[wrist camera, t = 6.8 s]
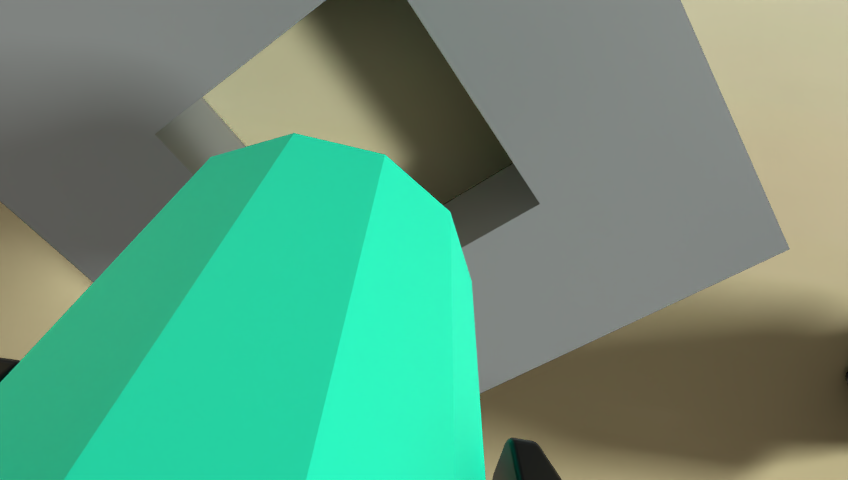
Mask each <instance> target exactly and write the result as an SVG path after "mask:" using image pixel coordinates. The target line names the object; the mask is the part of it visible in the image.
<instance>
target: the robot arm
mask: <svg viewBox="0 0 848 480" xmlns="http://www.w3.org/2000/svg"><path fill="white" fill-rule="evenodd" d="M19 362H20V361H19V360H13V359H6V358H0V382H1V381H2V380H3V379H4V378H5V377H6V376H7V375H8V374H9V373H10V372H11V370H12V369H13V368H14V367H15V366H16V365H17V364H18V363H19ZM845 378H846V381H847V384H848V372H847V373H846V376H845ZM493 480H561V478H560V476H559V475H558V473H557V472H556V470H555V469H554V467H553V466H552V464H551V463H550V461H549V460H548V458H547V457H546V455H545V454H544V452H543V451H542V449H541V448H540V446H539V445H538V444H537V443H536V442H534V441H530V440H523V439H517V438H510V439H508V440H507V442H506V443H505V445H504V448H503V451H502V453H501V456H500V459H499V461H498V464H497V467H496V469H495V472H494V475H493Z"/></svg>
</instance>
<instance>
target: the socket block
mask: <svg viewBox="0 0 848 480" xmlns="http://www.w3.org/2000/svg"><path fill="white" fill-rule="evenodd" d="M324 1H326V0H0V202H2V203H3V204H4V205H5V206H6V207H7V208H9V209H10V210H11V211H12V212H13V213H14V214H15V215H17V216H18V217H19V218H20V219H21V220H22V221H23V222H25V223H26V224H27V225H28V226H29V227H30V228H32V229H33V230H34V231H35V232H36V233H37V234H38V235H40V236H41V237H42V238H43V239H44V240H45V241H46V242H48V243H49V244H50V245H51V246H52V247H53V248H54V249H56V250H57V251H58V252H59V253H60V254H61V255H63V256H64V257H65V258H66V259H67V260H68V261H69V262H71V263H72V264H73V265H74V266H75V267H76V268H77V269H79V270H80V271H81V272H82V273H83V274H84V275H86V276H87V277H88V278H89V279H90V280H91V281H92V282H95V280H96V279H97V278H98V277H99V276H100V275H101V274H102V273H103V272H104V271H105V270H106V269H107V268H108V267H109V265H110V264H111V263H112V262H113V261H114V260H115V259H116V258H117V257H118V256H119V255H120V254H121V253H122V252H123V250H124V249H125V248H126V247H127V246H128V245H129V244H130V243H131V242H132V241H133V240H134V239H135V238H136V236H137V235H138V234H139V233H140V232H141V231H142V230H143V229H144V228H145V227H146V226H147V225H148V224H149V223H150V221H151V220H152V219H153V218H154V217H155V216H156V215H157V214H158V213H159V212H160V211H161V210H162V209H163V208H164V206H165V205H166V204H167V203H168V202H169V201H170V200H171V199H172V198H173V197H174V196H175V195H176V194H177V193H178V191H179V190H180V189H181V188H182V187H183V186H184V185H185V184H186V183H187V182H188V181H189V180H190V179H191V178H192V176H193V175H194V174H195V173H196V172H197V171H198V170H199V169H200V168H201V167H202V166H203V165H204V164H205V163H206V161H207V160H208V159H209V158H210V157H212V156H216V155H219V154H223V153H226V152H230V151H233V150H237V149H240V148H244V147H246V146H245V145H244V144H243V143H242V142H241V141H240V140H239V138H238V137H237V136H236V135H235V134H234V133H233V132H232V131H231V129H230V128H229V127H228V126H227V125H226V124H225V123H224V121H223V120H222V119H221V118H220V117H219V116H218V115H217V113H216V112H215V111H214V110H213V109H212V108H211V107H210V105H209V104H208V103H207V102H206V101H205V100H204V99H203V96H204V95H205V94H207V93H208V92H209V91H210V90H212V89H213V88H214V87H216V86H217V85H218V84H219V83H221V82H222V81H223V80H225V79H226V78H227V77H228V76H230V75H231V74H232V73H234V72H235V71H236V70H237V69H239V68H240V67H241V66H242V65H244V64H245V63H246V62H248V61H249V60H250V59H251V58H253V57H254V56H255V55H257V54H258V53H259V52H260V51H262V50H263V49H264V48H266V47H267V46H268V45H269V44H271V43H272V42H273V41H274V40H276V39H277V38H278V37H280V36H281V35H282V34H283V33H285V32H286V31H287V30H289V29H290V28H291V27H292V26H294V25H295V24H296V23H298V22H299V21H300V20H301V19H303V18H304V17H305V16H306V15H308V14H309V13H310V12H312V11H313V10H314V9H315V8H317V7H318V6H319V5H321V4H322V3H323V2H324ZM407 1H408V2H409V4H410V5H411V7H412V8H413V10H414V11H415V13H416V15H417V16H418V18H419V19H420V21H421V22H422V24H423V25H424V27H425V28H426V30H427V31H428V33H429V34H430V36H431V38H432V39H433V41H434V42H435V44H436V45H437V47H438V48H439V50H440V51H441V53H442V54H443V56H444V58H445V59H446V61H447V62H448V64H449V65H450V67H451V68H452V70H453V71H454V73H455V74H456V76H457V77H458V79H459V81H460V82H461V84H462V85H463V87H464V88H465V90H466V91H467V93H468V94H469V96H470V97H471V99H472V100H473V102H474V104H475V105H476V107H477V108H478V110H479V111H480V113H481V114H482V116H483V117H484V119H485V120H486V122H487V123H488V125H489V127H490V128H491V130H492V131H493V133H494V134H495V136H496V137H497V139H498V140H499V142H500V143H501V145H502V147H503V148H504V150H505V151H506V153H507V154H508V156H509V157H510V159H511V160H512V162H513V164H511V165H510V166H508V167H506V168H505V169H503V170H501V171H500V172H498V173H496V174H495V175H493V176H491V177H489V178H488V179H486V180H484V181H483V182H481V183H479V184H478V185H476V186H474V187H473V188H471V189H469V190H468V191H466V192H464V193H463V194H461V195H459V196H458V197H456V198H454V199H453V200H451V201H449V202H447V203H446V204H444V205H443V206H444V207H445V208H447V209H448V210H449V211H450V212H451V216H452V219H453V222H454V225H455V229H456V232H457V235H458V238H459V242H460V245H461V248H462V251H463V255H464V258H465V261H466V264H467V268H468V271H469V274H470V277H471V281H472V292H473V306H474V321H475V335H476V349H477V364H478V378H479V392H480V393H482V392H485V391H487V390H489V389H491V388H493V387H495V386H497V385H500V384H502V383H504V382H506V381H508V380H510V379H512V378H515V377H517V376H519V375H521V374H523V373H525V372H527V371H530V370H532V369H534V368H536V367H538V366H540V365H542V364H545V363H547V362H549V361H551V360H553V359H555V358H557V357H560V356H562V355H564V354H566V353H568V352H570V351H572V350H575V349H577V348H579V347H581V346H583V345H585V344H587V343H590V342H592V341H594V340H596V339H598V338H600V337H602V336H605V335H607V334H609V333H611V332H613V331H615V330H617V329H620V328H622V327H624V326H626V325H628V324H630V323H632V322H635V321H637V320H639V319H641V318H643V317H645V316H647V315H650V314H652V313H654V312H656V311H658V310H660V309H662V308H665V307H667V306H669V305H671V304H673V303H675V302H677V301H680V300H682V299H684V298H686V297H688V296H690V295H692V294H695V293H697V292H699V291H701V290H703V289H705V288H707V287H710V286H712V285H714V284H716V283H718V282H720V281H722V280H725V279H727V278H729V277H731V276H733V275H735V274H737V273H740V272H742V271H744V270H746V269H748V268H750V267H752V266H755V265H757V264H759V263H761V262H763V261H765V260H767V259H770V258H772V257H774V256H776V255H778V254H780V253H782V252H785V251H787V250H789V247H788V244H787V242H786V240H785V237H784V235H783V233H782V231H781V228H780V226H779V224H778V222H777V219H776V217H775V215H774V212H773V210H772V208H771V206H770V203H769V201H768V199H767V196H766V194H765V192H764V190H763V187H762V185H761V183H760V180H759V178H758V176H757V174H756V171H755V169H754V167H753V165H752V162H751V160H750V158H749V155H748V153H747V151H746V149H745V146H744V144H743V142H742V139H741V137H740V135H739V133H738V130H737V128H736V126H735V123H734V121H733V119H732V117H731V114H730V112H729V110H728V108H727V105H726V103H725V101H724V98H723V96H722V94H721V92H720V89H719V87H718V85H717V82H716V80H715V78H714V76H713V73H712V71H711V69H710V67H709V64H708V62H707V60H706V57H705V55H704V53H703V51H702V48H701V46H700V44H699V41H698V39H697V37H696V35H695V32H694V30H693V28H692V25H691V23H690V21H689V19H688V16H687V14H686V12H685V10H684V7H683V5H682V3H681V0H407Z"/></svg>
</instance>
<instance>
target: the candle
mask: <svg viewBox="0 0 848 480" xmlns="http://www.w3.org/2000/svg"><path fill="white" fill-rule="evenodd" d="M0 480H486V479H485V464H484V450H483V436H482V421H481V407H480V392H479V378H478V364H477V349H476V335H475V321H474V306H473V292H472V281H471V277H470V274H469V271H468V268H467V264H466V261H465V258H464V255H463V251H462V248H461V245H460V242H459V238H458V235H457V232H456V229H455V225H454V222H453V219H452V216H451V212H450V211H449V210H448V209H447V208H445V207H444V206H443V205H442V204H441V203H440V202H439V201H437V200H436V199H435V198H434V197H433V196H432V195H431V194H429V193H428V192H427V191H426V190H425V189H424V188H423V187H421V186H420V185H419V184H418V183H417V182H416V181H415V180H413V179H412V178H411V177H410V176H409V175H408V174H407V173H406V172H404V171H403V170H402V169H401V168H400V167H399V166H398V165H396V164H395V163H394V162H393V161H392V160H391V159H390V158H388V157H387V156H386V155H385V154H380V153H376V152H372V151H368V150H363V149H359V148H355V147H351V146H346V145H342V144H338V143H334V142H329V141H325V140H321V139H317V138H312V137H308V136H304V135H300V134H295V133H293V134H289V135H286V136H282V137H279V138H275V139H272V140H268V141H265V142H261V143H258V144H254V145H251V146H247V147H244V148H240V149H237V150H233V151H230V152H226V153H223V154H219V155H216V156H212V157H210V158H209V159H208V160H207V161H206V163H205V164H204V165H203V166H202V167H201V168H200V169H199V170H198V171H197V172H196V173H195V174H194V175H193V176H192V178H191V179H190V180H189V181H188V182H187V183H186V184H185V185H184V186H183V187H182V188H181V189H180V190H179V191H178V193H177V194H176V195H175V196H174V197H173V198H172V199H171V200H170V201H169V202H168V203H167V204H166V205H165V206H164V208H163V209H162V210H161V211H160V212H159V213H158V214H157V215H156V216H155V217H154V218H153V219H152V220H151V221H150V223H149V224H148V225H147V226H146V227H145V228H144V229H143V230H142V231H141V232H140V233H139V234H138V235H137V236H136V238H135V239H134V240H133V241H132V242H131V243H130V244H129V245H128V246H127V247H126V248H125V249H124V250H123V252H122V253H121V254H120V255H119V256H118V257H117V258H116V259H115V260H114V261H113V262H112V263H111V264H110V265H109V267H108V268H107V269H106V270H105V271H104V272H103V273H102V274H101V275H100V276H99V277H98V278H97V279H96V280H95V282H94V283H93V284H92V285H91V286H90V287H89V288H88V289H87V290H86V291H85V292H84V293H83V294H82V295H81V297H80V298H79V299H78V300H77V301H76V302H75V303H74V304H73V305H72V306H71V307H70V308H69V309H68V310H67V312H66V313H65V314H64V315H63V316H62V317H61V318H60V319H59V320H58V321H57V322H56V323H55V324H54V325H53V327H52V328H51V329H50V330H49V331H48V332H47V333H46V334H45V335H44V336H43V337H42V338H41V339H40V340H39V342H38V343H37V344H36V345H35V346H34V347H33V348H32V349H31V350H30V351H29V352H28V353H27V354H26V355H25V357H24V358H23V359H22V360H21V361H20V362H19V363H18V364H17V365H16V366H15V367H14V368H13V369H12V370H11V372H10V373H9V374H8V375H7V376H6V377H5V378H4V379H3V380H2V381H1V382H0Z"/></svg>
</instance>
